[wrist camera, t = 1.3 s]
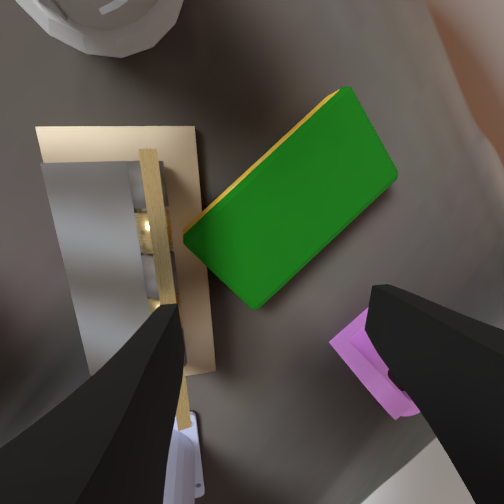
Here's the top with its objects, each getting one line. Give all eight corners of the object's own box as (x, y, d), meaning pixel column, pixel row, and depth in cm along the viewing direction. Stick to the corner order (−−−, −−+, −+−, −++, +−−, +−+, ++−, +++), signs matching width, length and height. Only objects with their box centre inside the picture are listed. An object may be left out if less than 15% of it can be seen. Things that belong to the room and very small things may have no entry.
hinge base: (43, 129, 16) (10, 118, 13) (194, 128, 17) (194, 118, 15) (100, 383, 20) (85, 414, 18) (215, 364, 22) (218, 390, 19)
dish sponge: (377, 176, 21) (402, 175, 18) (246, 298, 20) (255, 313, 18) (328, 94, 18) (349, 81, 16) (178, 232, 18) (178, 239, 16)
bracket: (328, 341, 24) (377, 402, 17) (374, 299, 24) (443, 345, 17) (396, 414, 28) (457, 485, 21) (436, 379, 28) (510, 440, 21)
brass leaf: (116, 148, 10) (171, 148, 11) (127, 161, 16) (162, 160, 17) (163, 436, 14) (201, 423, 14) (158, 360, 20) (185, 353, 20)
